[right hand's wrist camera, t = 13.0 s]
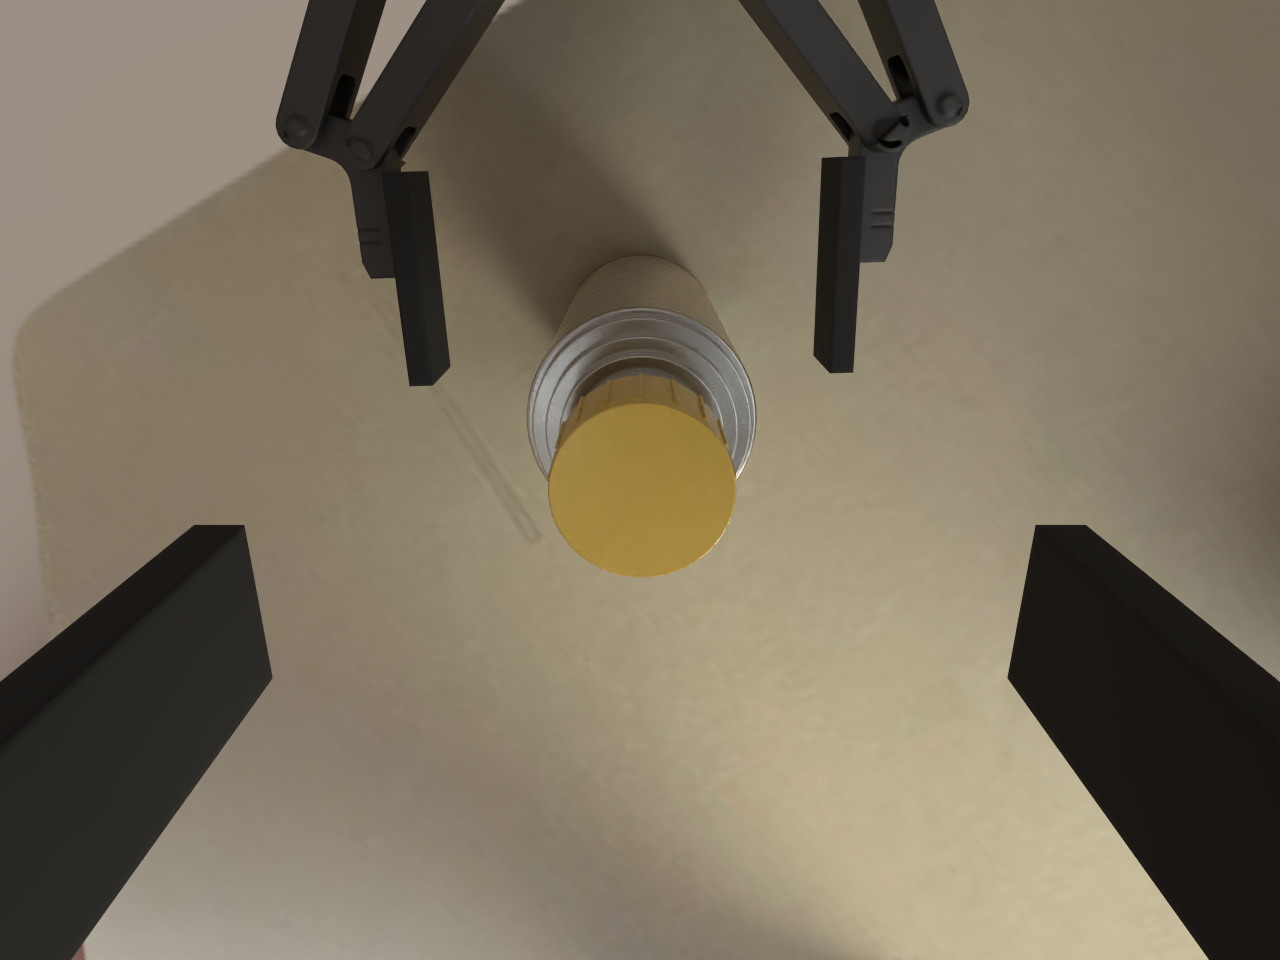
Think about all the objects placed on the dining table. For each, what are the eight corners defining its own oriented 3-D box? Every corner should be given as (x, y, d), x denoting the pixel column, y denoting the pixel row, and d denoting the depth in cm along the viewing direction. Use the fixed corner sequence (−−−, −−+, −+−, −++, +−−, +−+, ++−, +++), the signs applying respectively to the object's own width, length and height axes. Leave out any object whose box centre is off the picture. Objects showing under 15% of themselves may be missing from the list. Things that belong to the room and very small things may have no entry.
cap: (586, 552, 20) (579, 600, 18) (532, 400, 19) (517, 431, 17) (744, 509, 20) (758, 552, 18) (701, 350, 19) (709, 376, 16)
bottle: (593, 419, 36) (552, 641, 19) (547, 280, 33) (455, 392, 17) (730, 379, 35) (813, 573, 18) (692, 235, 33) (747, 306, 16)
